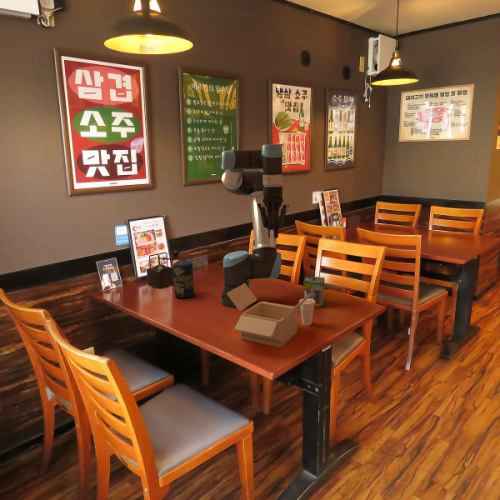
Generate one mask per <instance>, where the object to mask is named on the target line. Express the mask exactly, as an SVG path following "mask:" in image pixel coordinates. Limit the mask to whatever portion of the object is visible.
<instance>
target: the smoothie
mask: <svg viewBox="0 0 500 500" xmlns="http://www.w3.org/2000/svg"><path fill="white" fill-rule="evenodd" d="M305 298H306V290H305ZM303 299H304V298H301V299H299V300H298V303H299V302H301V301H302V300H303ZM314 305H315V300H313V299H307V300H306V301H305V302H304V303H303V304H302V305H301V306H300V307H299V310H300V311H301V312H300V313H301V314H300V315H301V322H302V325H303V326H312V325H313V324H312V323H313V317H314V309H315V307H314Z"/></svg>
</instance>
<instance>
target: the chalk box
mask: <svg viewBox="0 0 500 500" xmlns="http://www.w3.org/2000/svg"><path fill="white" fill-rule="evenodd" d="M305 290H306V297H307V296H308V295H310V294H311V293H312V295H311V296H310V297H309V298H308V299H313V300H315V305H314V308H315V307H317V308H319V307H320V308H324V307H325V277H324V276H315V275H314V271H313V270H312V271H311V276H304V280H303V299H304V298H305Z"/></svg>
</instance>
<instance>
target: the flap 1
mask: <svg viewBox="0 0 500 500" xmlns="http://www.w3.org/2000/svg"><path fill="white" fill-rule="evenodd" d="M251 291H252V289H251V290H250V289H249V288H248V286H247V285H246V284H245V283H244V284H242V285H241V286H239V287H237V288H235V289H233V290H231V291H229V292H228V293H226V294H227V295H228V296H229V298H230V299H231V300H232V302H233V303H234V304H235V306H236V307H235V308H236V309H237V311H239V312H240V311H242V310H244V309H246V308H247V307H248V306H250V305H252V304H253V303H255V302H256V301H258V299H257V296H256V295H255V294H254V293H253V291H252V292H251Z"/></svg>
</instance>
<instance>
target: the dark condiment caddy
mask: <svg viewBox="0 0 500 500" xmlns="http://www.w3.org/2000/svg"><path fill="white" fill-rule="evenodd" d="M171 253H172V257H171V258H170V257H161V255H160V254H157V261H158V264H156V265H154V266H152V267H149V268H146V278H147V286H148V285H149V286H148V287H151V286H152V288H155V289H157V288H158V289H157V290H161V289H164V288H167V287H170V286H174V275H173V266H168V265H165V264H162V263H161V260H162V261H163V260H166V261H167V260H168V261H173V260H174V261H175V260H178V259H179V258H178V257H179V255H180V251H179V250H173V251H172V252H171Z"/></svg>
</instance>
